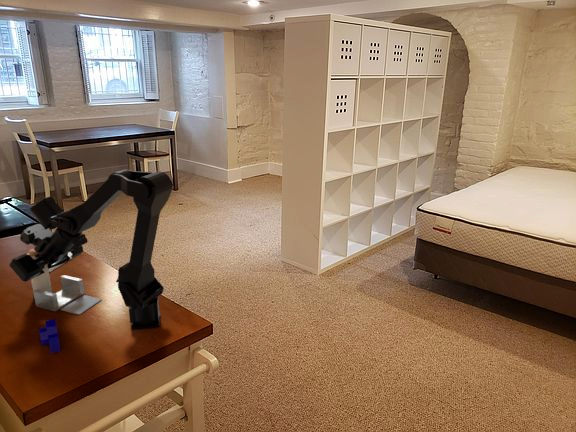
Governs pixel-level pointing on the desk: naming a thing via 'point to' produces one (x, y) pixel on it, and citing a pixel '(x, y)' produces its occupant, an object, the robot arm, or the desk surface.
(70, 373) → the desk surface
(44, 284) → the white upright post
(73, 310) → the pad
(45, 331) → the cable holder
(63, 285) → the bracket
